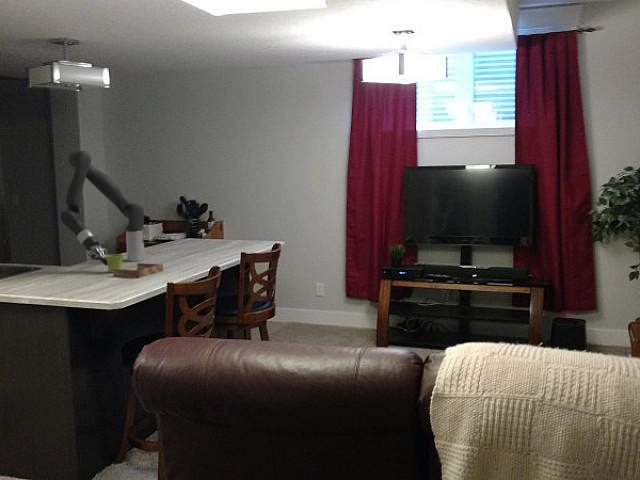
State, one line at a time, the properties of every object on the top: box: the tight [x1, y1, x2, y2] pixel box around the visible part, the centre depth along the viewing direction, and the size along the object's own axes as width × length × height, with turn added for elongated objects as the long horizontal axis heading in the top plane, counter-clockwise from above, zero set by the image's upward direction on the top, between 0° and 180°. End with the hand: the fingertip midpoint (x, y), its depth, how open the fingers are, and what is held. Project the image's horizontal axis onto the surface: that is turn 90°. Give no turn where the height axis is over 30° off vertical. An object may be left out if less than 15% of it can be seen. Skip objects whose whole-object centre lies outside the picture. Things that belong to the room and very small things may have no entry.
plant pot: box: [105, 253, 125, 273], centre depth 318 cm, size 9×9×9 cm
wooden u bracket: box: [112, 262, 164, 279], centre depth 313 cm, size 20×15×4 cm
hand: (107, 264), depth 319 cm, fingers closed
